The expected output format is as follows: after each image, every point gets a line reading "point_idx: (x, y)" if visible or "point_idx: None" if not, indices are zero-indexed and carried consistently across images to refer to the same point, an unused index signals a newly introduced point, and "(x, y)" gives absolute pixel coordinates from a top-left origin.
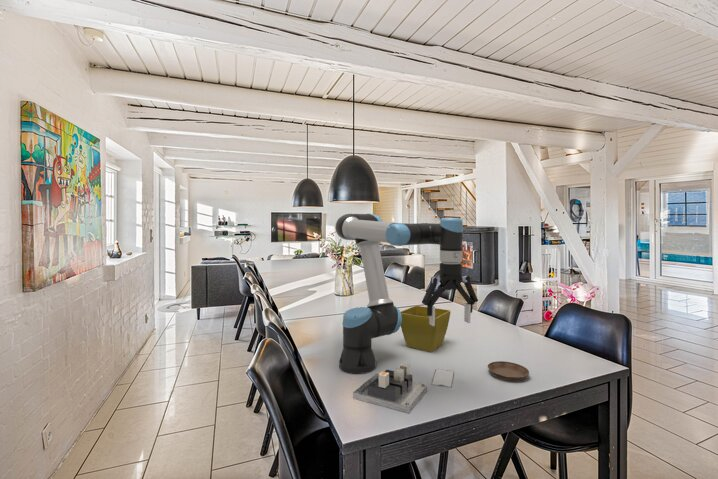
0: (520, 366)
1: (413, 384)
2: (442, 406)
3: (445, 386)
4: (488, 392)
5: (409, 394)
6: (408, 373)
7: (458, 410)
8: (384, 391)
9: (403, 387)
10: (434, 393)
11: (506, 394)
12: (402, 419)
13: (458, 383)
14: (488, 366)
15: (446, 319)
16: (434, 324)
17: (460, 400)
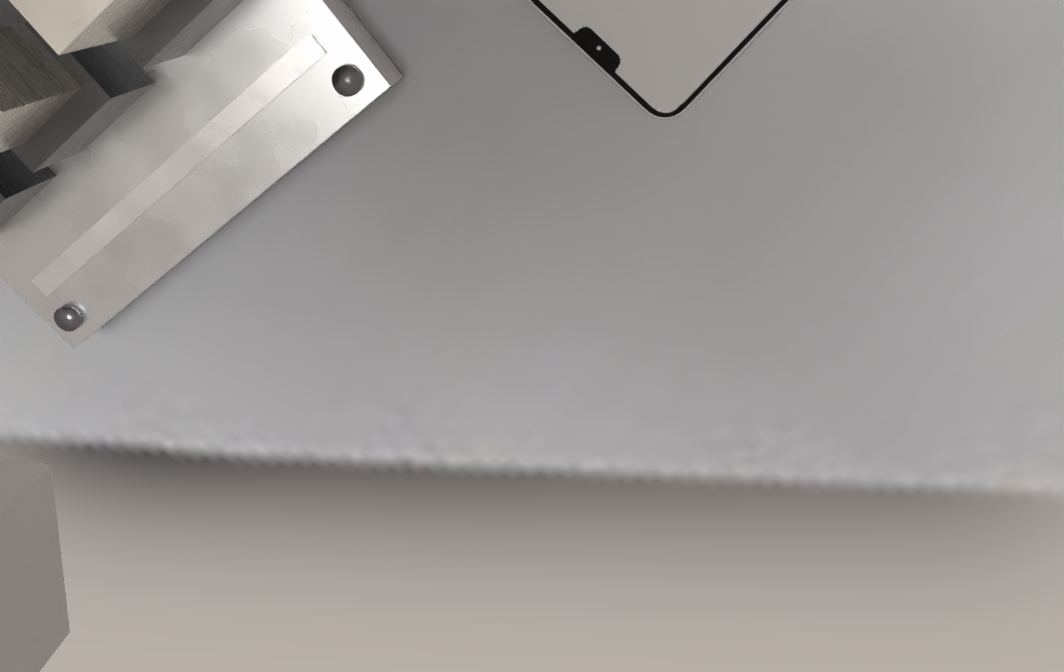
0: None
1: (265, 8)
2: (385, 353)
3: (620, 87)
4: (906, 339)
5: (142, 188)
6: (154, 3)
7: (463, 442)
8: None
9: (74, 143)
10: (444, 150)
11: (1011, 426)
12: (32, 370)
13: (804, 71)
14: None
15: None
16: (37, 660)
17: (577, 342)
